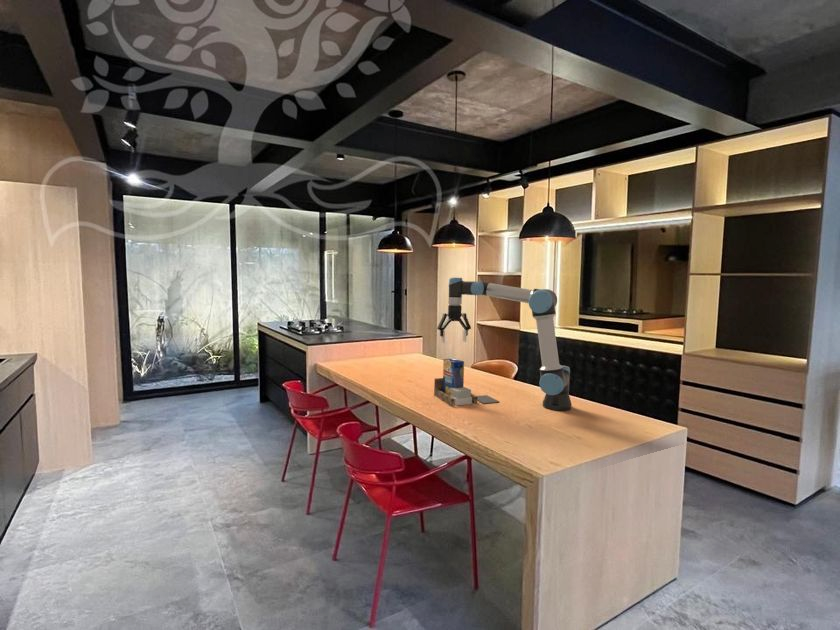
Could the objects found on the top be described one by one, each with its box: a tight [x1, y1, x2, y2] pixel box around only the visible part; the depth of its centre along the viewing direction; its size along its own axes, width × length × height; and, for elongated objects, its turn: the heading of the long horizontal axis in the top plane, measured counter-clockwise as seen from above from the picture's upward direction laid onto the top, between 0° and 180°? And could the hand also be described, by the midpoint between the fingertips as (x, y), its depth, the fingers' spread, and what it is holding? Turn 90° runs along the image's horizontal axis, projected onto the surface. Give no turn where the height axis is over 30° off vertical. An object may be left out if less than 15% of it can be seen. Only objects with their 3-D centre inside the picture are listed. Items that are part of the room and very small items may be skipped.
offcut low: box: [450, 396, 473, 406], centre depth 253 cm, size 7×10×4 cm
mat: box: [476, 394, 500, 405], centre depth 260 cm, size 14×10×1 cm
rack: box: [433, 377, 479, 407], centre depth 259 cm, size 24×16×10 cm
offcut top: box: [451, 386, 472, 399], centre depth 253 cm, size 6×9×4 cm, turn 119°
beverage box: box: [442, 357, 465, 396], centre depth 262 cm, size 7×11×22 cm, turn 31°
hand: (453, 341), depth 260 cm, fingers open, 13 cm apart
